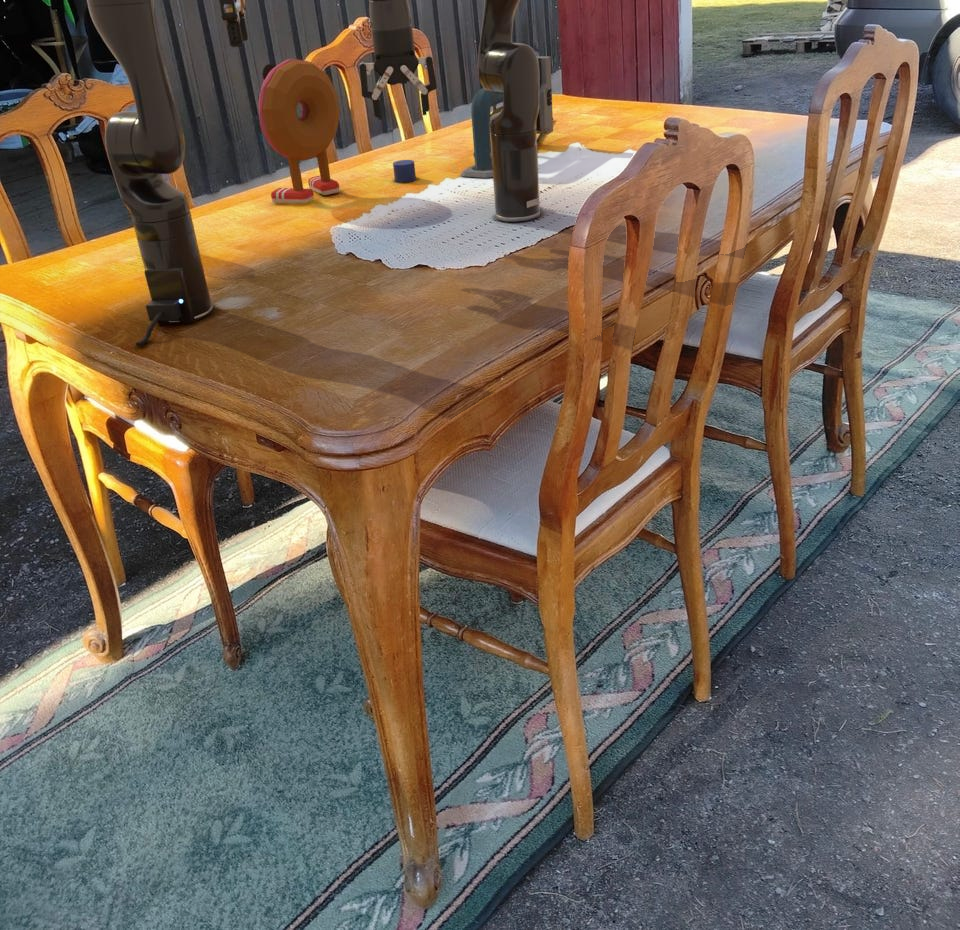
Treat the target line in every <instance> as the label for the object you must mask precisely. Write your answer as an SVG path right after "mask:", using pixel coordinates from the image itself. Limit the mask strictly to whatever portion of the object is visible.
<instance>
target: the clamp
mask: <svg viewBox="0 0 960 930" xmlns="http://www.w3.org/2000/svg"><path fill="white" fill-rule="evenodd" d="M537 58H538V63H539V72H540V89H539V113H538V116H537V120H536V134H537V135H540V134H543V135H550V134H551V133H554V132H553V131H554V117H553V90H552V89H553V88H552V62H551V61H552V60H551V56H547V55H545V56H544V55H541V56H539V55H538V56H537ZM501 103H503V94H502V93H494V92H490V91H487V90H486V89H485V88H484V87H481V88H480V90H478V91H477V93H476V94H475V95H474V96H473V98H472V101H471V108H470V111H471V112H470V113H471V114H470V115H471V127H472V138H473V139H472V140H473V155H472V156H473V158H474V164H473V165H471V166H469V167H467V168H465V169H463V170H462V172H461V174H460V176H462V177H471V178H483V179H484V178H485V179H486V178H493V168H492V153H491V139H490V123H489V122H490V118H491V116H492V115H494V114H496V113H499V112H500V111H501V110H502V109H503V105H501V106H499V107H497V105H498V104H501ZM491 107H492V111H491Z"/></svg>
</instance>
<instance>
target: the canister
mask: <svg viewBox="0 0 960 930" xmlns="http://www.w3.org/2000/svg"><path fill="white" fill-rule="evenodd" d="M392 169H393V176H394V182H396V183H399V184H403V183H404V184H405V183H410V182H414V181H416V179H417V175H416V166H415V161H414V160H412V159H400V160H397V161H395V162H393V163H392Z"/></svg>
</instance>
